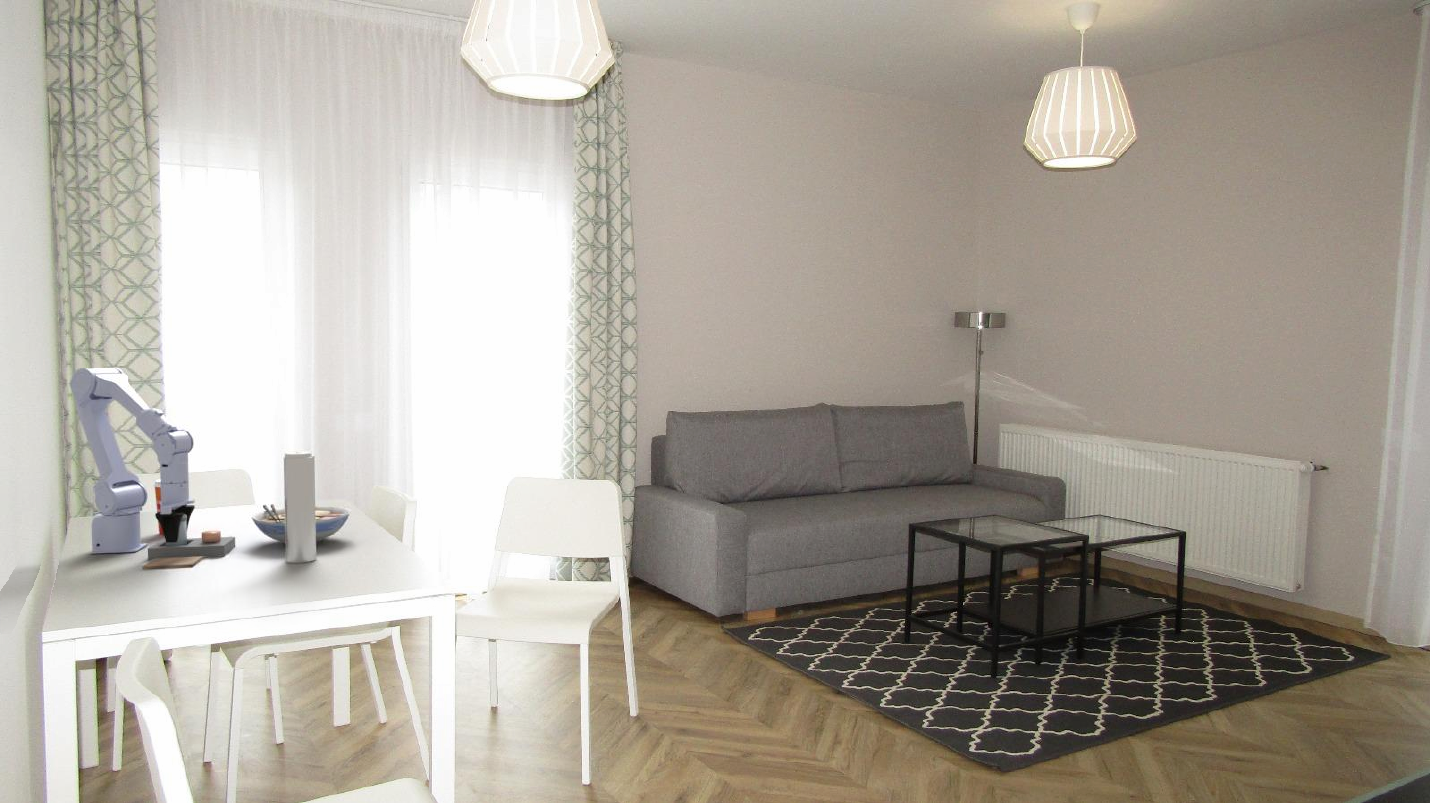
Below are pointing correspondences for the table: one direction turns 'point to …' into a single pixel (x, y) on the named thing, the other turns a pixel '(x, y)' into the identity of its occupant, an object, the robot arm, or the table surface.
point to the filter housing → (192, 548)
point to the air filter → (299, 507)
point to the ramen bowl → (326, 516)
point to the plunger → (211, 536)
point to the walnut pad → (172, 562)
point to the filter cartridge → (181, 533)
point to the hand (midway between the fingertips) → (176, 539)
